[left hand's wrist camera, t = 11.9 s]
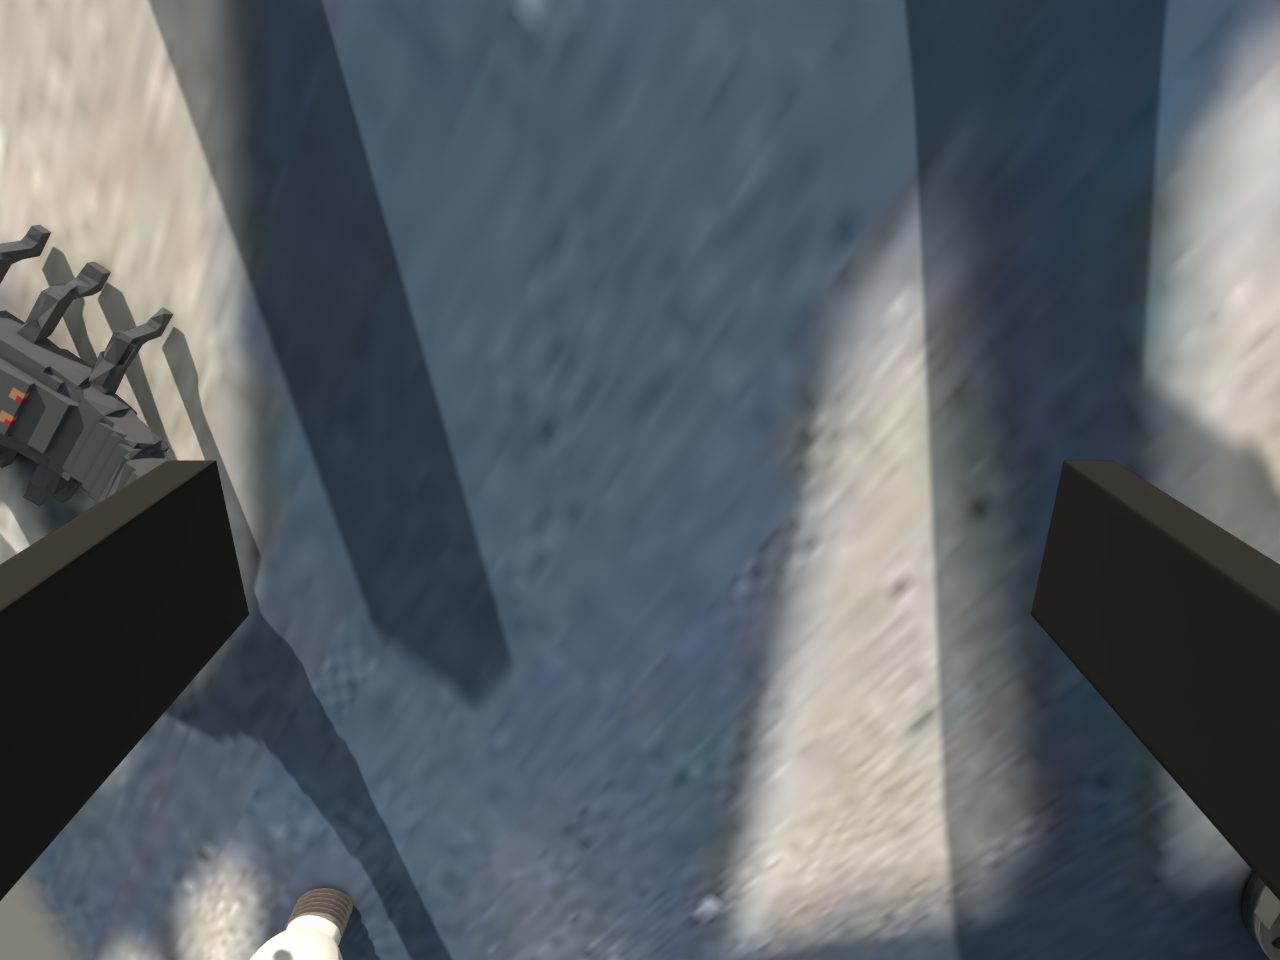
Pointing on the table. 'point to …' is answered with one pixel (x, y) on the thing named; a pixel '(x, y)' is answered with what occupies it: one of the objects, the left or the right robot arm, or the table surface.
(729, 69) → the table surface
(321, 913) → the light bulb
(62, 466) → the toy
